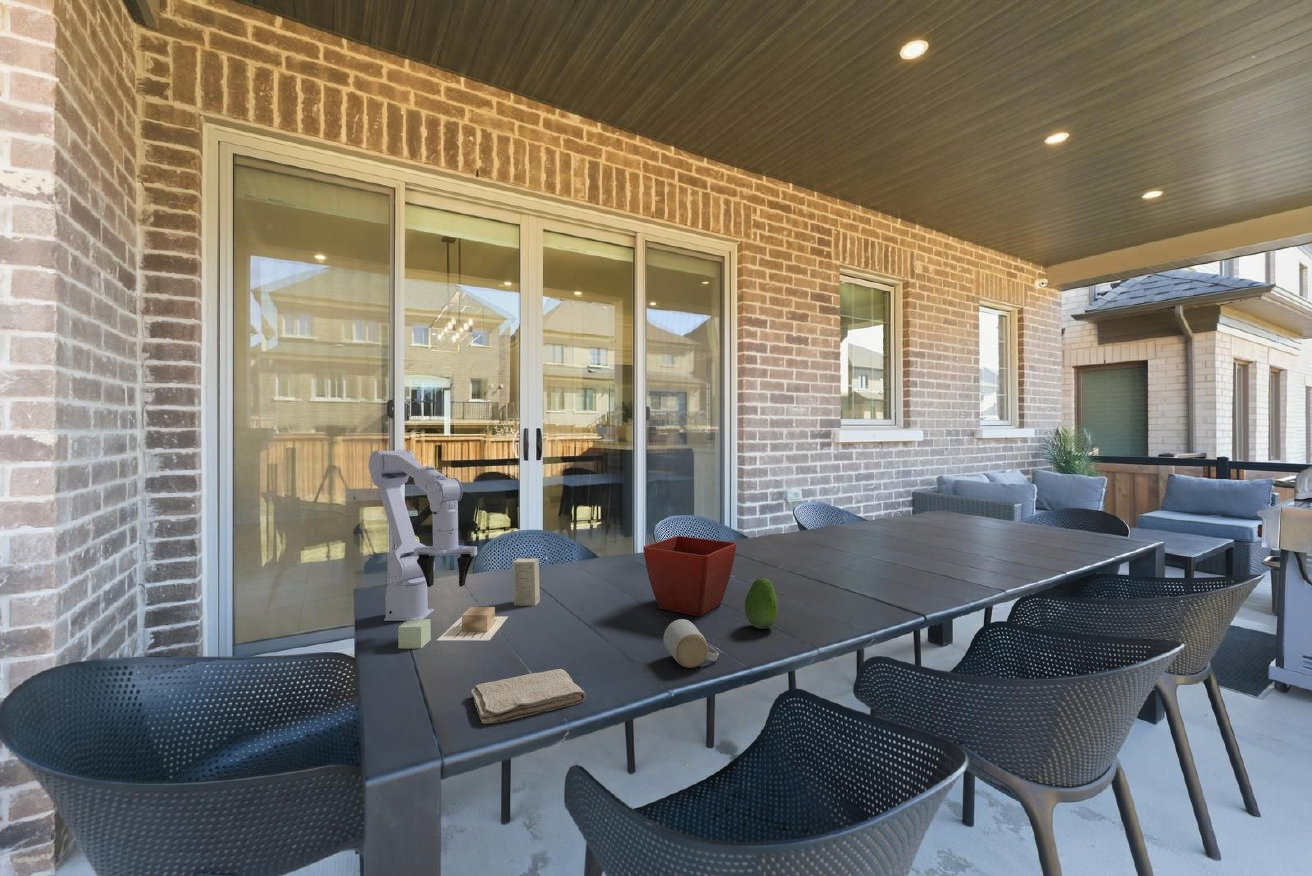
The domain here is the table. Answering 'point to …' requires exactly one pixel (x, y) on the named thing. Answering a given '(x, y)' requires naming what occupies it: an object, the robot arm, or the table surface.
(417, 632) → the sage cube
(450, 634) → the letter
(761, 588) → the fruit
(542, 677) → the washcloth
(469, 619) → the oak block
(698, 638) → the ceramic mug
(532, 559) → the skincare box
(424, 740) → the table surface
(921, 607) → the table surface
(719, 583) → the plant pot
